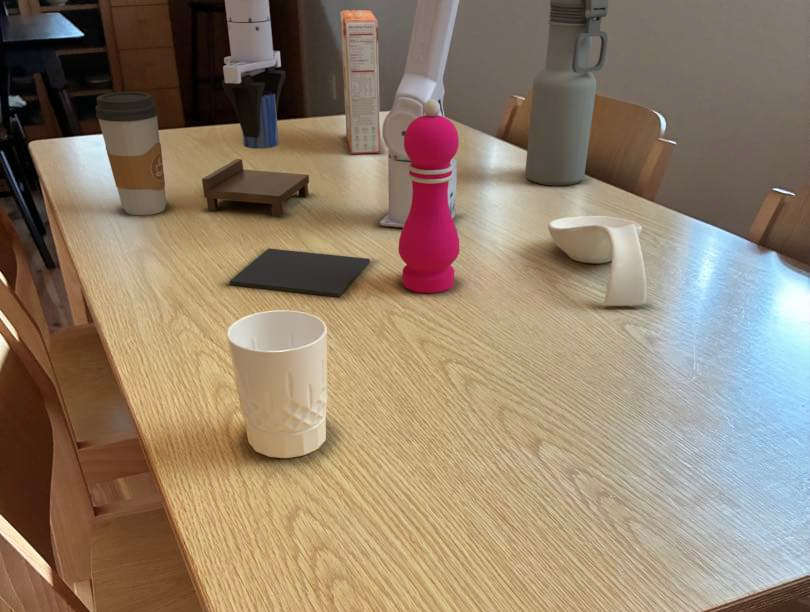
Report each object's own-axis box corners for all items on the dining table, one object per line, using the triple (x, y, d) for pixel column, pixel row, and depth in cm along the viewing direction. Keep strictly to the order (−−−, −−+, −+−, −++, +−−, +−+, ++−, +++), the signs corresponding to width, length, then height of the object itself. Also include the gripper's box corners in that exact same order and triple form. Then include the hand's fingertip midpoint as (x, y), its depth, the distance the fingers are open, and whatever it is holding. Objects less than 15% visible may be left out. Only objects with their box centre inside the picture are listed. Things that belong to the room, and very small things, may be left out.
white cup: (245, 417, 73) (230, 311, 66) (332, 413, 73) (326, 308, 67) (238, 465, 67) (221, 353, 60) (334, 461, 67) (327, 349, 61)
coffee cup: (159, 219, 117) (138, 104, 107) (106, 215, 118) (81, 101, 109) (182, 203, 123) (165, 92, 114) (132, 199, 124) (110, 89, 115)
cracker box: (344, 137, 157) (339, 9, 144) (375, 136, 158) (372, 9, 145) (348, 155, 146) (343, 18, 133) (381, 154, 147) (379, 18, 134)
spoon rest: (537, 240, 110) (543, 185, 106) (622, 239, 111) (631, 184, 106) (576, 310, 92) (585, 246, 87) (677, 308, 92) (691, 244, 88)
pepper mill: (464, 277, 100) (474, 95, 87) (448, 298, 94) (455, 108, 82) (409, 269, 101) (410, 91, 89) (390, 290, 96) (388, 103, 84)
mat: (369, 262, 104) (369, 258, 103) (339, 297, 94) (339, 293, 94) (268, 252, 106) (268, 248, 106) (229, 285, 97) (229, 280, 97)
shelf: (310, 194, 127) (308, 164, 124) (281, 217, 118) (278, 185, 115) (240, 188, 129) (236, 158, 126) (206, 210, 120) (201, 178, 117)
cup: (284, 141, 118) (280, 91, 114) (270, 149, 114) (265, 97, 110) (252, 139, 119) (246, 89, 115) (237, 147, 115) (230, 95, 111)
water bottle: (597, 181, 133) (627, -25, 116) (554, 191, 129) (578, -22, 112) (555, 167, 140) (578, -29, 122) (512, 176, 136) (529, -27, 118)
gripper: (244, 13, 114) (255, 119, 122) (196, 25, 103) (212, 141, 111) (290, 15, 112) (298, 122, 121) (247, 27, 101) (259, 145, 110)
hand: (260, 132), depth 116 cm, fingers closed on cup, 5 cm apart
